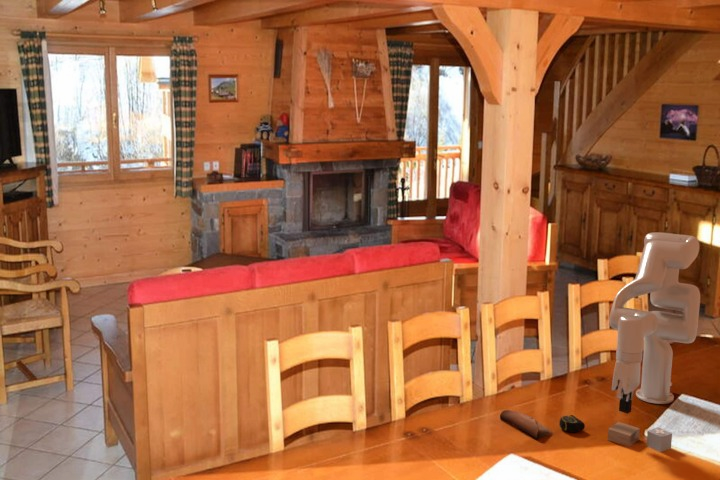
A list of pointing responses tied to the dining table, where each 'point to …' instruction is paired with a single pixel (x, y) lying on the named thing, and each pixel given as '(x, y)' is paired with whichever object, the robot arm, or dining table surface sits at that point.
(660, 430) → the slate cube
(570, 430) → the tape measure
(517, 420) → the sunglasses case
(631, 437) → the brown block
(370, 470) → the dining table surface
